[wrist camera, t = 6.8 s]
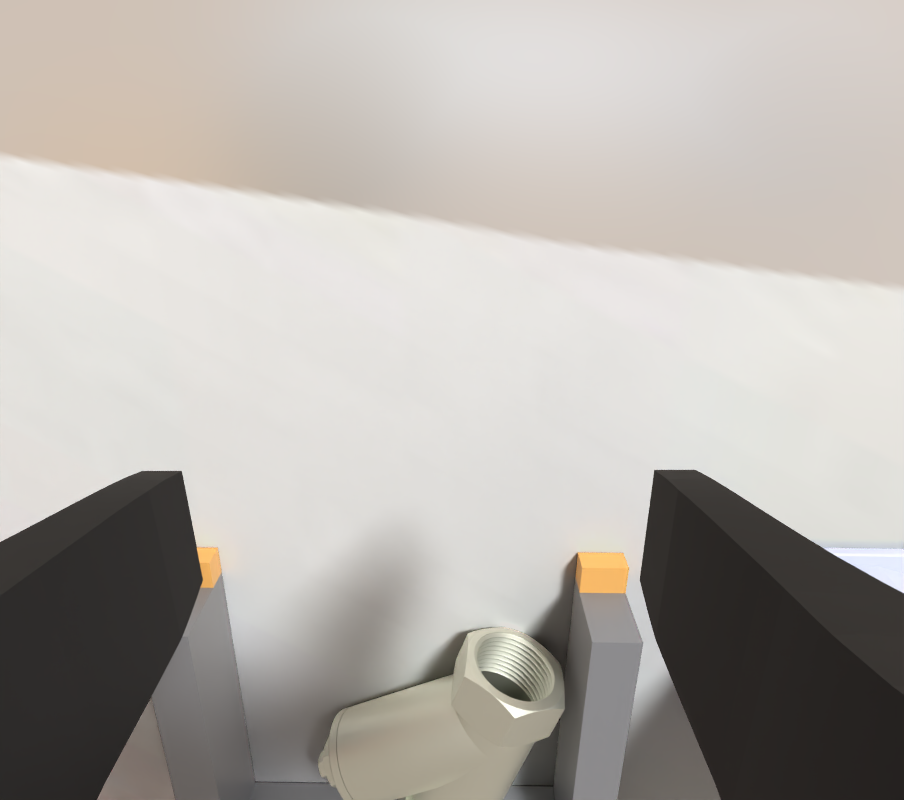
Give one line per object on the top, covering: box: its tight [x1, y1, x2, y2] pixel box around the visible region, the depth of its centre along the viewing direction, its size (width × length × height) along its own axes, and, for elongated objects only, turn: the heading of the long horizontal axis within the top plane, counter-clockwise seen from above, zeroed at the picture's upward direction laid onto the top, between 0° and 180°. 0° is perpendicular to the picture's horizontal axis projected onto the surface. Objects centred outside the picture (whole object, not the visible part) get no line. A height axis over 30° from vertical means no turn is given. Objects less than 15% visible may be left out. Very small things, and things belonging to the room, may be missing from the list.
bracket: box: [151, 548, 643, 800], centre depth 23 cm, size 15×13×3 cm
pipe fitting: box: [318, 627, 565, 800], centre depth 23 cm, size 8×4×7 cm
